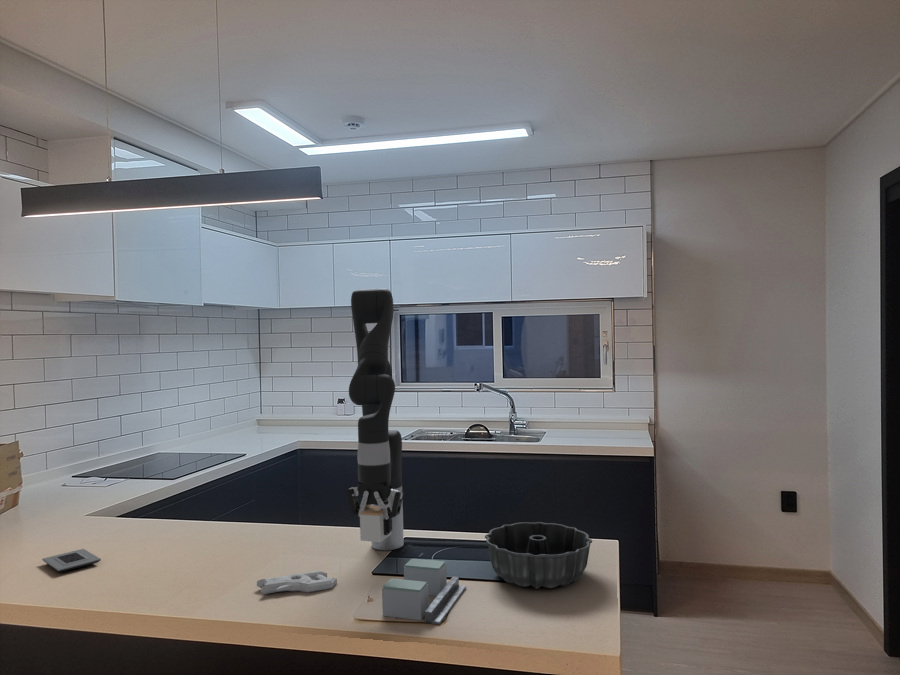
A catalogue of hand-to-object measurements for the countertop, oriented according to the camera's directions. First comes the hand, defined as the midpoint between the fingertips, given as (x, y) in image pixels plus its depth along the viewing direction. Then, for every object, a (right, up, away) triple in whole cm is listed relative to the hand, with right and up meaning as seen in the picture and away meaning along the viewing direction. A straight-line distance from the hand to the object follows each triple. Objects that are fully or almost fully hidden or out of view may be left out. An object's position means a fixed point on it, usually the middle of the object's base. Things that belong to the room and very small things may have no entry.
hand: (376, 532), depth 156 cm
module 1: (0, -1, 0) cm, 1 cm away
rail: (+16, -15, -3) cm, 22 cm away
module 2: (+11, -15, +5) cm, 19 cm away
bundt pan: (+39, -15, +12) cm, 44 cm away
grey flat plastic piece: (-20, -16, +8) cm, 27 cm away
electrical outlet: (-87, -17, +28) cm, 93 cm away
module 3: (+7, -15, -8) cm, 19 cm away
